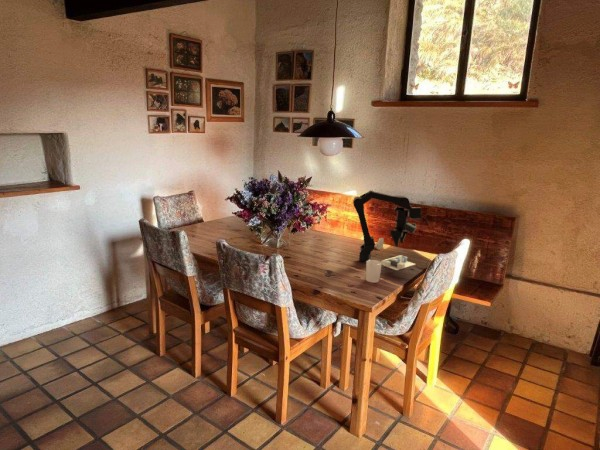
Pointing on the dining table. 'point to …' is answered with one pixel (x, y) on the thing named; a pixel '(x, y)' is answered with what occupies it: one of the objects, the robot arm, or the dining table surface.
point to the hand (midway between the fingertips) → (399, 244)
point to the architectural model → (379, 243)
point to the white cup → (373, 270)
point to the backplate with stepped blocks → (397, 259)
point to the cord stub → (397, 264)
